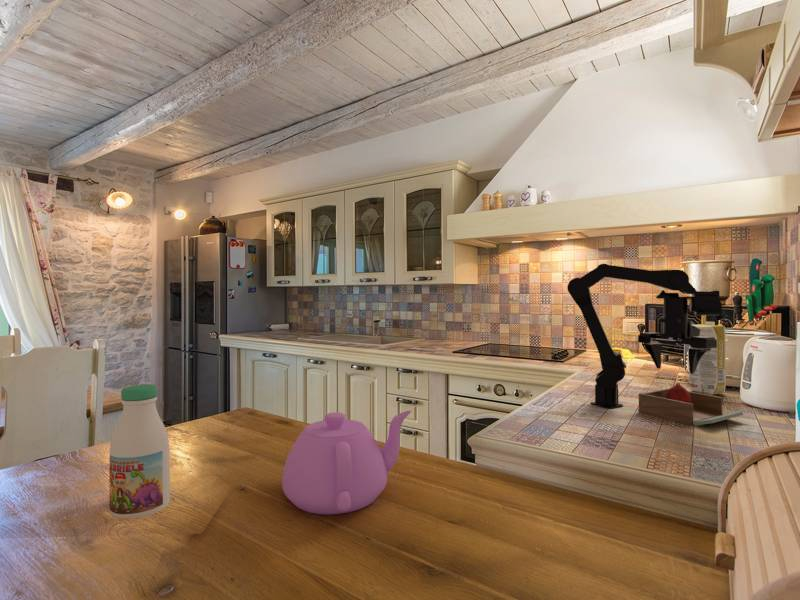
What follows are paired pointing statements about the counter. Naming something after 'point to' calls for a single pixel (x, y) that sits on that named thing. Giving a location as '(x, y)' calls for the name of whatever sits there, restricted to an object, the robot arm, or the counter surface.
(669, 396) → the onion
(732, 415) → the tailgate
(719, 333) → the juice carton
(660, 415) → the crate
